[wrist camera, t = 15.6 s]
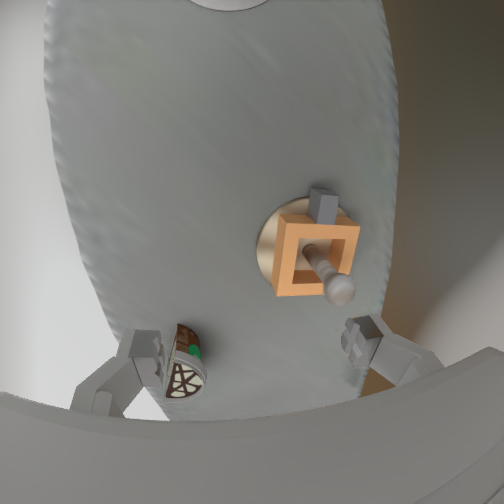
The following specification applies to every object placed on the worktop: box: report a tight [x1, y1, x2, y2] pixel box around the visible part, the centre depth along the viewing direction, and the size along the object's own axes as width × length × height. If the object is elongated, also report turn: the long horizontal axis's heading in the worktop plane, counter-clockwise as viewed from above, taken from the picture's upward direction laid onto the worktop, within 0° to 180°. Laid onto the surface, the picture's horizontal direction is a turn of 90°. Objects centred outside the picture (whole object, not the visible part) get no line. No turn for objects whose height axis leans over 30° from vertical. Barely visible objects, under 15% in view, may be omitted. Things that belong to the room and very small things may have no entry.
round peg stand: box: [256, 197, 356, 306], centre depth 36 cm, size 16×16×14 cm
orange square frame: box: [271, 188, 360, 296], centre depth 39 cm, size 15×11×4 cm
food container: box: [164, 324, 207, 403], centre depth 43 cm, size 12×6×10 cm, turn 160°
